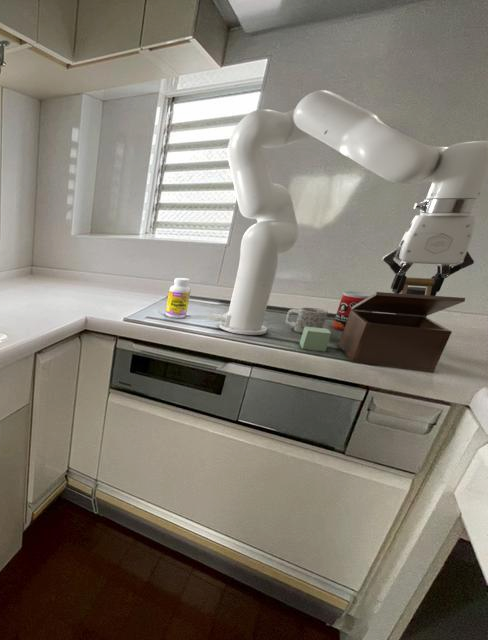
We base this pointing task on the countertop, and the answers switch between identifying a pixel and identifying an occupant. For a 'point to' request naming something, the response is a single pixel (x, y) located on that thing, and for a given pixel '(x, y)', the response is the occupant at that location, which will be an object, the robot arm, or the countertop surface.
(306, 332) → the block
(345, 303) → the canned food
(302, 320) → the mug
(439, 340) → the chest
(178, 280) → the supplement bottle
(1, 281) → the countertop surface
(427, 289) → the lid
